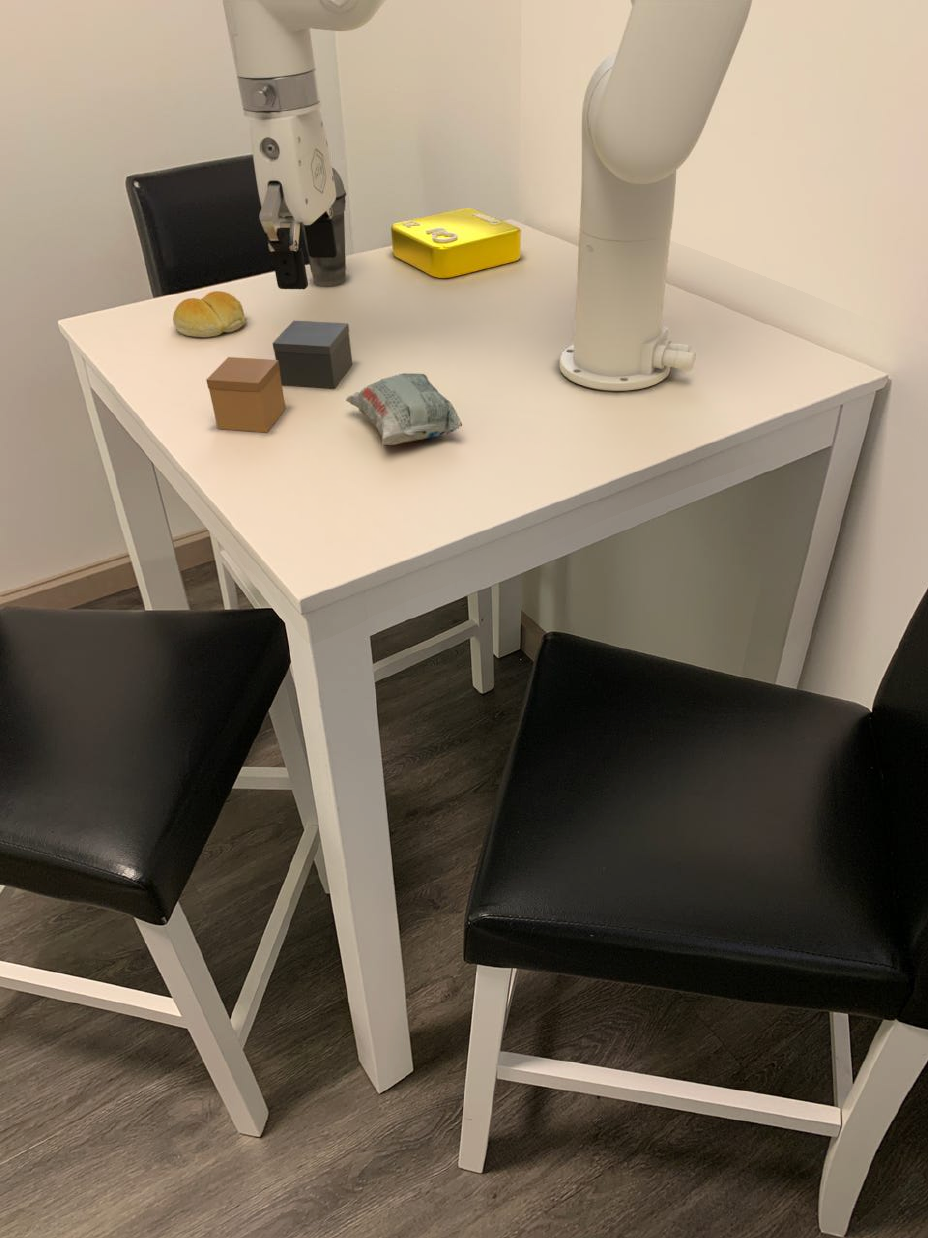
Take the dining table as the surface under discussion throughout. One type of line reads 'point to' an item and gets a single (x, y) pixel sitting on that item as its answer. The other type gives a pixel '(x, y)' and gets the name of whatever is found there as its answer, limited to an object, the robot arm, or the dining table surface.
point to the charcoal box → (313, 354)
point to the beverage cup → (334, 268)
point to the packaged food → (406, 409)
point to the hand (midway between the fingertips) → (309, 271)
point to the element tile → (456, 242)
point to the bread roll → (209, 315)
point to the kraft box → (246, 394)
